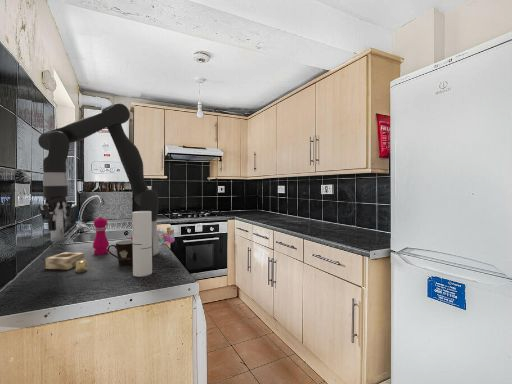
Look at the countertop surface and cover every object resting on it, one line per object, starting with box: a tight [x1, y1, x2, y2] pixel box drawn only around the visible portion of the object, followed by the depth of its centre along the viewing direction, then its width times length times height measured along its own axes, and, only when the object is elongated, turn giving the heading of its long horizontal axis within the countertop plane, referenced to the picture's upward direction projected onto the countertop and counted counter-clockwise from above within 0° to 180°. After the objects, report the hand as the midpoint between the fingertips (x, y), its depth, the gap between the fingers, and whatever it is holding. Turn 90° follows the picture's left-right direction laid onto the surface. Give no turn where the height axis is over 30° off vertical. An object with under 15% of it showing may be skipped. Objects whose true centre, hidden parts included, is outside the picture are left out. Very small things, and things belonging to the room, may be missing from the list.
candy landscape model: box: [130, 226, 176, 247], centre depth 167 cm, size 25×24×9 cm
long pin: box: [50, 209, 65, 243], centre depth 104 cm, size 4×4×12 cm
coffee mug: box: [107, 239, 133, 267], centre depth 123 cm, size 12×9×10 cm
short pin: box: [75, 259, 88, 273], centre depth 114 cm, size 4×4×4 cm
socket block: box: [45, 251, 86, 270], centre depth 121 cm, size 10×10×4 cm
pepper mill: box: [92, 214, 110, 256], centre depth 141 cm, size 7×7×20 cm
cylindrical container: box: [131, 210, 153, 277], centre depth 110 cm, size 7×7×25 cm
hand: (57, 229), depth 104 cm, fingers closed on long pin, 4 cm apart
